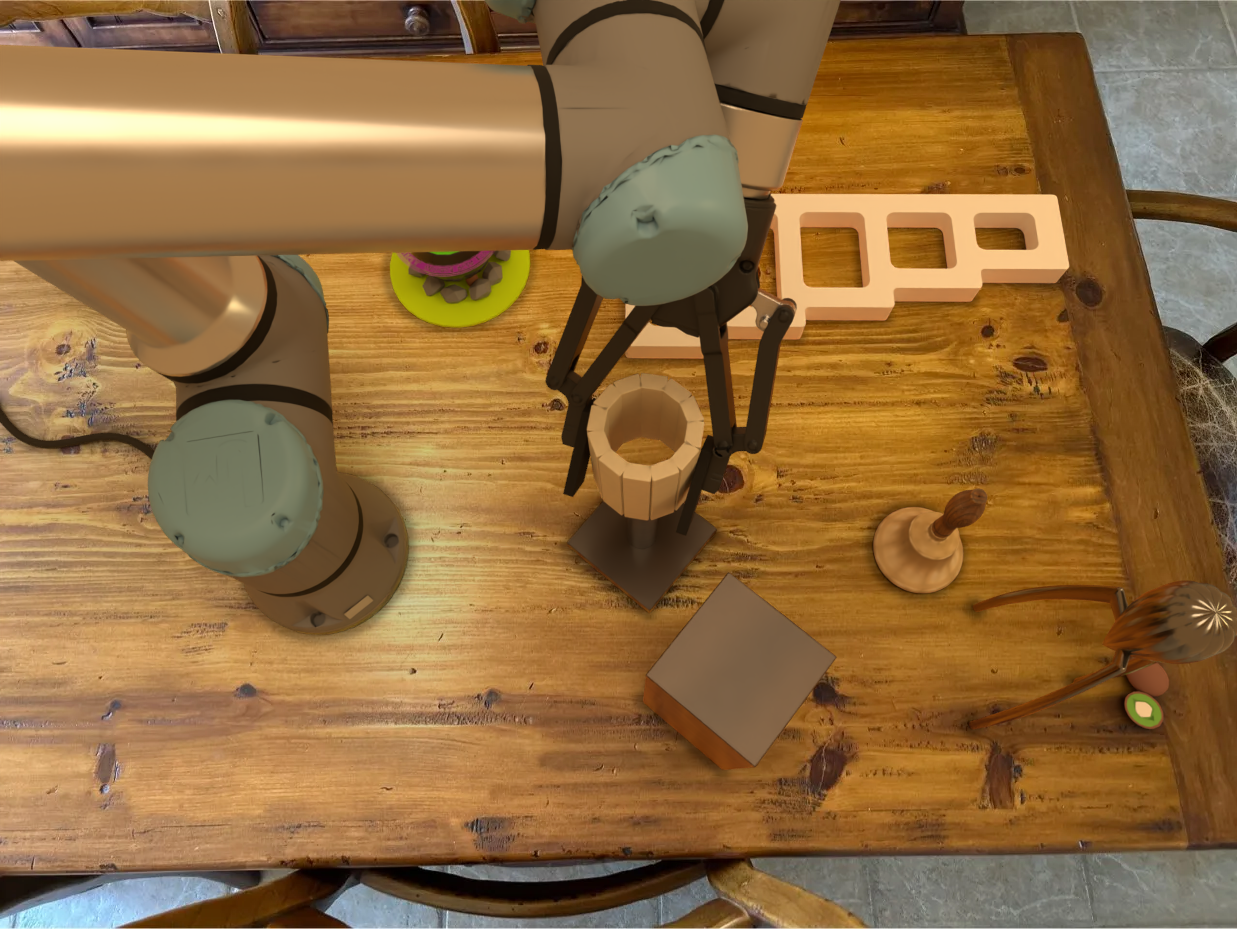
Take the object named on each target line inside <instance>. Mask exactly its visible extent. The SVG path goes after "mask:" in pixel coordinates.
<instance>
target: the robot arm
mask: <svg viewBox="0 0 1237 929" xmlns="http://www.w3.org/2000/svg"><path fill="white" fill-rule="evenodd" d="M484 2H485V4H486V5H487V6H488V7H489V9H490V10H492V11H493V12H495V13H498V14H501V15H503V16H506V17H509V18H511V19H515V20H517V21H518V23H519V24H524V25H525V24H527V23H531V24H535V29H536V33H537V39H538V43H539V50H540V55H541V60H542V64H527V65H519V64H517V65H516V64H494V63H471V62H470V63H469V62H445V61H444V62H443V61H442V62H441V61H422V60H420V61H419V60H398V59H396V60H395V59H372V58H371V59H369V58H347V57H345V58H344V57H323V56H322V57H321V56H320V57H319V56H299V55H298V56H295V55H271V54H270V55H269V54H249V53H248V54H246V53H245V54H244V53H243V54H242V53H222V52H197V51H195V52H193V51H172V50H171V51H170V50H169V51H167V50H147V49H146V50H145V49H122V48H120V49H119V48H99V47H98V48H97V47H96V48H95V47H74V46H73V47H72V46H71V47H70V46H45V45H24V44H23V45H19V44H0V262H12V261H13V262H14V263H16V264H17V265H19V266H21V267H23V268H24V269H25V270H27V271H28V272H31V273H32V274H34V275H35V276H37V277H38V278H40V279H42V280H44V281H46V282H47V283H49V284H51V285H52V286H53V287H55V288H57V289H59V290H60V291H62V292H63V293H65V294H67V295H68V296H70V297H71V298H73V299H75V300H76V301H78V302H80V303H81V304H83V305H85V306H87V307H88V308H90V309H92V310H93V311H95V312H96V313H98V314H100V315H101V316H103V317H104V318H106V319H108V320H109V321H111V322H113V323H115V324H116V325H118V326H119V327H121V328H123V329H124V330H125V334H126V340H127V342H128V345H129V347H130V349H131V351H132V353H133V354H134V356H135V357H136V358H137V359H138V361H139V362H141V363H142V364H143V365H144V366H145V367H147V368H149V369H150V370H152V371H153V372H155V373H156V374H159V375H160V376H162V377H164V378H165V379H167V380H169V381H171V382H172V383H173V385H174V387H175V422H173V424H172V425H171V426H170V431H171V432H170V433H169V435H168V436H167V437H166V438H165V439H161V440H159V442H158V444H157V446H156V447H155V450H154V449H153V448H151V446H149V445H148V444H146V443H145V442H143V441H141V440H139V439H138V438H135V437H133V436H131V435H127V434H123V433H119V432H97V433H88V434H84V435H79V436H74V437H69V438H62V439H51V440H49V439H48V440H47V439H40V438H36V437H32V436H30V435H28V434H26V433H25V432H23V431H22V430H21V429H19V428H18V427H17V426H16V425H15V424H14V423H13V421H12V420H11V419H10V418H9V417H8V416H7V414H6V413H5V411H4V410H3V408H2V407H1V406H0V424H1V425H2V426H3V428H5V430H6V431H7V432H8V433H9V434H11V435H12V436H13V437H14V438H16V439H17V440H18V441H20V442H22V443H24V444H26V445H28V446H32V447H36V448H41V449H62V448H68V447H73V446H79V445H85V444H89V443H95V442H106V441H109V442H119V443H124V444H127V445H129V446H132V447H134V448H136V449H137V450H139V451H141V452H142V453H143V454H144V455H145V456H147V457H148V459H150V460H151V461H150V464H149V467H148V472H147V473H148V474H147V496H148V500H149V505H150V509H151V511H152V515H153V517H154V518H155V521H156V523H157V525H158V526H159V528H160V529H161V531H162V533H163V534H164V535H165V536H166V537H167V538H168V539H169V540H170V541H171V542H172V543H173V544H174V545H175V546H176V547H177V548H179V549H180V550H182V552H184V553H185V554H187V556H188V557H189V558H190V559H191V560H193V561H194V562H196V563H197V564H199V565H200V566H202V567H204V568H206V569H208V570H209V571H212V572H214V573H218V574H220V575H224V576H228V577H230V578H231V579H234V580H236V581H238V582H240V583H242V584H243V587H244V589H245V591H246V593H247V595H248V597H249V598H250V600H251V601H252V603H253V604H254V605H255V606H256V607H257V608H258V610H259V611H260V612H261V613H262V614H263V615H265V617H267V618H268V619H270V620H271V621H273V622H274V623H276V624H277V625H280V626H281V627H284V628H286V629H289V630H291V631H293V632H297V633H301V634H304V635H305V634H306V635H317V636H323V635H331V634H337V633H341V632H344V631H347V630H351V629H353V628H355V627H357V626H360V625H361V624H363V623H364V622H366V621H368V620H369V619H371V618H372V617H373V616H375V615H376V614H377V613H379V611H381V609H383V608H384V607H385V606H386V605H387V603H389V601H390V599H391V598H392V597H393V596H394V594H395V593H396V591H397V589H398V587H399V586H400V584H401V582H402V580H403V577H404V574H405V571H406V568H407V564H408V560H409V537H408V530H407V526H406V524H405V520H404V518H403V516H402V514H401V512H400V510H399V509H398V507H397V506H396V504H394V502H393V501H392V500H391V499H390V497H389V496H388V495H387V494H386V493H385V492H384V491H382V490H381V489H380V488H379V487H378V486H377V485H375V484H373V483H371V482H370V481H368V480H365V479H364V478H362V477H360V476H357V475H354V474H352V473H347V472H343V471H342V472H340V471H338V469H337V468H338V467H337V460H336V459H337V458H336V457H337V456H336V444H335V430H334V418H333V416H334V415H333V398H332V397H333V396H332V382H331V381H332V380H331V369H330V368H331V367H330V366H331V365H330V352H329V337H328V335H329V330H330V329H329V328H330V313H329V309H328V308H327V302H326V300H325V294H324V289H323V285H322V282H321V280H320V278H319V276H318V275H317V273H316V271H315V270H314V269H313V267H312V266H311V265H310V264H309V263H308V262H307V261H306V260H305V259H304V258H303V257H302V256H303V255H305V256H306V255H307V256H308V255H348V254H349V255H350V254H352V255H353V254H388V253H389V254H392V253H404V252H452V251H500V250H529V251H538V250H539V251H540V250H545V251H566V250H567V251H568V250H569V251H572V256H573V259H574V260H575V262H576V265H577V266H578V267H579V271H580V274H581V280H580V281H581V284H580V287H579V290H578V292H577V294H576V297H575V300H574V303H573V306H572V308H571V311H570V314H569V316H568V318H567V321H566V324H565V326H564V329H563V332H562V334H561V337H560V340H559V342H558V345H557V348H556V350H555V353H554V355H553V358H552V361H551V363H550V366H549V369H548V371H547V373H546V376H545V381H544V382H545V385H546V387H547V388H549V389H550V390H552V391H558V392H559V393H561V394H562V395H563V396H564V397H565V398H566V400H567V409H566V414H565V417H564V418H565V419H564V424H563V428H562V431H561V436H560V437H561V443H562V445H564V446H568V447H570V448H573V449H572V453H571V458H570V461H569V467H568V470H567V475H566V478H565V483H564V487H563V492H562V495H566V496H568V497H570V498H574V497H575V495H576V494H577V492H578V491H579V489H580V488H581V487H582V485H583V484H584V482H585V480H586V475H587V473H588V472H587V471H588V467H589V463H590V460H591V456H590V449H589V443H588V436H587V426H588V421H589V416H590V411H591V406H592V405H594V404H593V402H594V401H595V400H596V399H597V398H596V397H594V394H595V393H596V392H597V390H598V389H599V388H600V386H601V385H602V384H603V382H604V381H605V380H606V378H607V377H608V376H609V374H610V373H611V372H612V370H613V369H614V368H615V367H616V365H617V364H618V363H619V362H620V360H621V359H622V357H623V356H624V355H625V352H626V351H627V350H628V348H629V347H630V346H631V344H632V343H633V342H634V341H635V339H636V338H637V337H638V335H639V334H640V333H641V331H642V330H643V329H644V328H645V326H646V325H647V324H648V323H650V322H651V324H652V325H654V326H661V327H675V328H677V329H679V330H681V331H682V332H684V333H685V334H687V335H691V336H694V337H697V338H698V337H700V345H701V352H702V354H703V357H704V359H703V364H704V373H705V382H706V388H707V389H706V390H707V397H708V406H709V414H710V424H711V430H712V431H711V432H712V435H710V434H707V435H706V438H705V440H704V442H703V444H702V445H701V449H700V455H699V458H698V461H697V464H696V468H695V471H694V474H693V477H692V481H691V484H690V487H689V490H688V494H687V497H686V500H685V501H684V502H683V503H684V507H683V510H682V513H681V517H680V520H679V523H678V526H677V530H676V532H677V533H679V534H682V535H685V536H686V535H687V532H688V530H689V527H690V525H691V522H692V520H693V517H694V514H695V512H696V510H697V507H698V504H699V501H700V498H701V494H702V492H703V491H704V492H706V493H709V494H713V495H715V494H716V493H717V492H718V491H719V490H720V488H721V487H722V486H721V485H722V483H723V480H724V477H725V474H726V470H727V467H728V464H729V462H730V459H731V456H732V455H733V454H735V453H737V452H738V453H739V452H746V453H747V454H749V455H756V454H759V453H760V452H761V451H762V449H763V445H764V441H765V439H766V435H767V429H768V424H769V417H770V411H771V407H772V406H771V405H772V401H773V400H772V399H773V394H774V388H775V382H776V377H777V376H776V375H777V370H778V365H779V359H780V353H781V346H782V341H783V340H784V339H783V337H784V335H785V334H786V332H787V330H788V328H789V327H790V325H791V323H792V322H793V319H794V316H795V313H796V309H797V305H796V303H795V301H794V300H793V299H790V298H784V299H780V298H778V297H777V295H774V294H772V293H770V292H768V291H766V290H765V289H763V288H761V282H760V278H759V265H760V261H761V259H762V254H763V252H764V248H765V245H766V242H767V238H768V235H769V232H770V230H771V229H770V226H771V222H772V219H773V216H774V213H775V209H776V204H775V203H774V201H775V200H774V198H773V197H772V196H771V194H772V193H771V191H772V192H773V191H777V190H779V189H781V188H782V187H783V185H784V182H785V179H786V176H787V173H788V170H789V166H790V163H791V160H792V157H793V154H794V151H795V148H796V144H797V140H798V137H799V134H800V131H801V128H802V125H803V121H804V120H803V118H804V115H805V112H806V108H807V105H808V103H809V100H810V97H811V95H812V90H813V88H814V84H815V81H816V77H817V75H818V71H819V69H820V65H821V62H822V59H823V56H824V53H825V51H826V50H825V49H826V47H827V44H828V41H829V38H830V35H831V31H832V28H833V25H834V22H835V19H836V16H837V14H838V9H839V7H840V4H841V0H484ZM603 299H606V300H617V299H619V300H620V301H621V302H622V303H623V304H625V305H626V304H629V305H635V307H634V308H633V310H632V311H631V312H630V314H629V315H628V316H627V318H626V319H625V318H624V319H623V321H622V323H621V325H620V326H619V328H618V329H617V330H616V332H615V333H614V334H613V335H612V336H611V338H610V339H609V340H608V341H607V343H606V345H604V347H603V348H602V350H601V352H600V353H599V354H598V355H597V357H596V358H595V359H594V361H593V362H592V363H591V365H590V366H589V367H588V368H587V370H586V371H585V373H584V374H583V375H582V376H581V375H580V374H578V373H577V372H576V371H575V370H576V368H577V366H578V363H579V360H580V358H581V355H582V352H583V350H584V348H585V346H586V343H587V341H588V338H589V335H590V332H591V330H592V327H593V325H594V323H595V320H596V318H597V316H598V312H599V310H600V308H601V305H602V302H603V301H604V300H603ZM747 307H754V308H755V310H756V312H757V316H756V326H757V327H758V329H760V330H761V331H763V335H762V337H761V339H759V344H758V348H757V354H756V361H755V366H754V367H755V368H754V373H753V380H752V387H751V392H750V393H751V394H750V400H749V406H748V413H747V418H746V426H738V425H737V423H738V422H737V416H736V415H737V414H736V405H735V396H734V387H733V386H734V385H733V379H732V378H733V377H732V368H731V361H730V360H731V359H730V351H729V339H728V327H727V322H728V321H730V320H731V319H732V318H734V317H735V316H736V315H738V314H739V313H740V312H742V311H743V310H744V309H746V308H747Z"/></svg>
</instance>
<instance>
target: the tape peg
mask: <svg viewBox="0 0 1237 929" xmlns="http://www.w3.org/2000/svg"><path fill="white" fill-rule="evenodd" d="M684 503H685V502H683V504H682V505H681V506H680V507H679V508H678V509H677V510H674V512H673V513H671V514H668V515H665V516H662V517H659V518H657V519H654V520H651V519H650V516H649V520H641V519H635V518H629V517H625V516H624V514H623V515H620V514H619V513H618V512H616V511H615V510H614V509H613V508H611V507H610V506H609V505H608V504H606V503H605V502H604V501H603V500H602V501H601V503H600V504H599V505H598V506H597V507H596V508H595V510H594V511H592V513H591V514H590V515H589V516H588V518H587V519H586V520H585V521H584V522H583V524H581V525H580V527H579V528H578V529H577V530H576V532H574V533H573V535H572V536H571V537H570V538H569V539H568V540H567V542H566V544H567V548H569V549H570V550H571V551H572V552H574V553H575V554H576V555H577V556H578V557H580V558H581V559H582V560H583V561H584V562H586V563H587V564H588V565H589V566H591V567H592V568H593V569H594V570H595V571H597V572H598V573H599V574H600V575H602V576H603V577H604V578H605V579H606V580H608V581H609V582H610V583H612V585H613V586H615V587H616V588H617V589H619V590H620V591H621V592H622V593H623V594H624V595H626V596H627V597H628V598H629V599H631V600H632V601H633V602H635V604H636V605H638V606H639V607H641V608H642V609H643V610H644V611H645V612H647V613H648V614H651V613H652V612H653V610H654V609H655V608H656V606H657V605H658V604H659V603H660V602H661V600H662V599H663V598H664V597H665V595H666V594H667V593H668V592H669V591H670V590H671V589H672V587H673V586H674V585H675V583H676V582H677V581H678V580H679V579H680V578H681V576H682V575H683V574H684V573H685V571H687V569H688V568H689V567H690V565H691V564H692V563H693V561H694V560H695V559H696V558H697V557H698V555H699V554H700V553H701V551H702V550H704V548H705V547H706V546H707V545H708V543H709V542H710V540H712V538H713V537H714V536H715V535H716V533H717V530H718V528H717V527H716V526H714V525H713V524H712V523H711V522H709V521H708V520H706V519H705V518H704V517H702V516H701V515H700V514H699V513H697V512H696V511H695V514H694V517H693V520H692V522H691V525H690V527H689V530H688V532H687V535H686V536H685V535H682V534H679V533H677V532H676V530H677V526H678V523H679V520H680V517H681V513H682V510H683V507H684Z"/></svg>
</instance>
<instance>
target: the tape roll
mask: <svg viewBox="0 0 1237 929" xmlns="http://www.w3.org/2000/svg"><path fill="white" fill-rule="evenodd" d="M593 404H594V405H592V406H591V411H590V416H589V421H588V426H587V436H588V443H589V449H590V462H591V469H592V476H593V481H594V483H595V485H596V488H597V490H598V493H599V496H600V498H601V499H602V502H603V501H604V502H605V503H606V504H608V505H609V506H610V507H611V508H613V509H614V510H615V511H616V512H618V513H619V514H620V515H623V514H624V516H625V517H629V518H635V519H641V520H649V516H650V519H651V520H654V519H657V518H659V517H662V516H665V515H668V514H671V513H673V512H674V510H677V509H678V508H679V507H680V506H681V505H682V504H683V503H685V500H686V497H687V494H688V490H689V487H690V484H691V481H692V477H693V474H694V471H695V468H696V464H697V461H698V458H699V455H700V451H701V449H702V442H703V436H704V430H705V429H704V428H705V417H704V415H703V412H702V411H701V408H700V405H699V404H698V402H697V399H696V396H695V395H693V393H692V392H691V391H690V390H688V389H686V387H684V386H683V385H682V384H680V383H678V381H676V380H674V378H672V377H669V376H667V375H661V374H653V373H647V372H641V373H638V372H637V373H635V374H632V375H629V376H626V377H623V378H620V379H617V380H614V381H613V383H609V385H608V386H607V387H605V389H603V391H602V392H601V393H600V394H599V395H598V397H597V398H596V400H595V401H594V402H593ZM640 438H641V439H642V438H643V439H648V440H656V441H660V442H661V443H662V444H663V445H665V446H666V447H668V448H669V449H670V450H671V451H672V452H674V454H672V456H671V457H670V458H668V459H665V460H662V461H659V462H656V463H654V464H651V465H647V464H641V463H635V462H629V461H628V460H626V459H625V458H623V456H621V455H620V454H618V453H617V452H618V451H619V449H620V448H621V447H622V446H623V445H624V444H626V443H630V442H632V441H634V440H638V439H640Z"/></svg>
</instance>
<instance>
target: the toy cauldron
mask: <svg viewBox="0 0 1237 929" xmlns="http://www.w3.org/2000/svg"><path fill="white" fill-rule="evenodd" d="M531 263H532V262H531V254H530V250H500V251H452V252H404V253H391V259H390V262H389V278H390V282H391V286H392V289H393V290H392V291H393V292H394V294H395V296H396V298H397V300H398V301H399V303H400V304H401V305H402V306H403V307H404V308H405V310H406V311H407V312H409V313H411V314H412V315H413V316H414V317H415V318H417V319H420V320H421V321H423V322H425V323H428V324H430V325H433V326H438V327H442V328H451V329H452V328H453V329H454V328H455V329H458V328H459V329H461V328H469V327H473V326H478V325H480V324H485V323H487V322H489V321H491V320H493V319H495V318H496V317H498V316H500V315H501V314H503V313H504V312H505V311H507V310H508V309H509V308H510V307H511V306H512V305H513V304H514V303H515V302H516V301H517V300H518V299H519V297H520V296H521V294H522V292H523V291H524V290H525V288H526V284H527V282H528V278H529V276H530V270H531Z"/></svg>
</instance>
